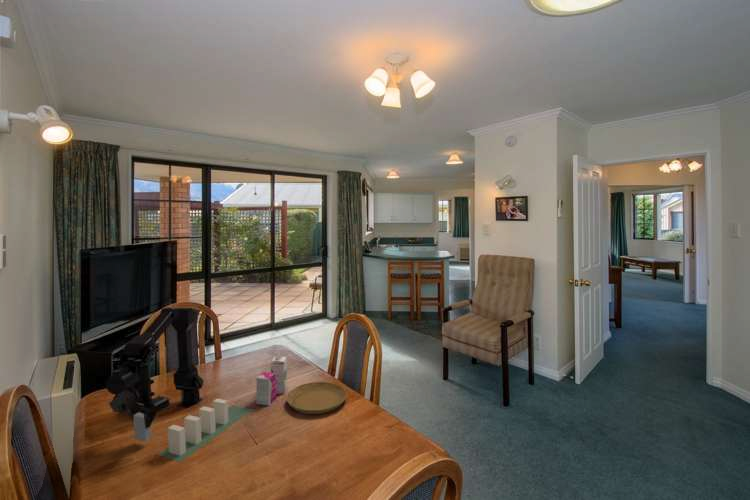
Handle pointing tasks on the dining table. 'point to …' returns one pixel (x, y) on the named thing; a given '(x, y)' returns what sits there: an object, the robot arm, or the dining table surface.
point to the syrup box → (280, 373)
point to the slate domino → (141, 428)
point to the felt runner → (233, 416)
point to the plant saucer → (316, 397)
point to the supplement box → (266, 389)
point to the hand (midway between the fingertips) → (142, 425)
